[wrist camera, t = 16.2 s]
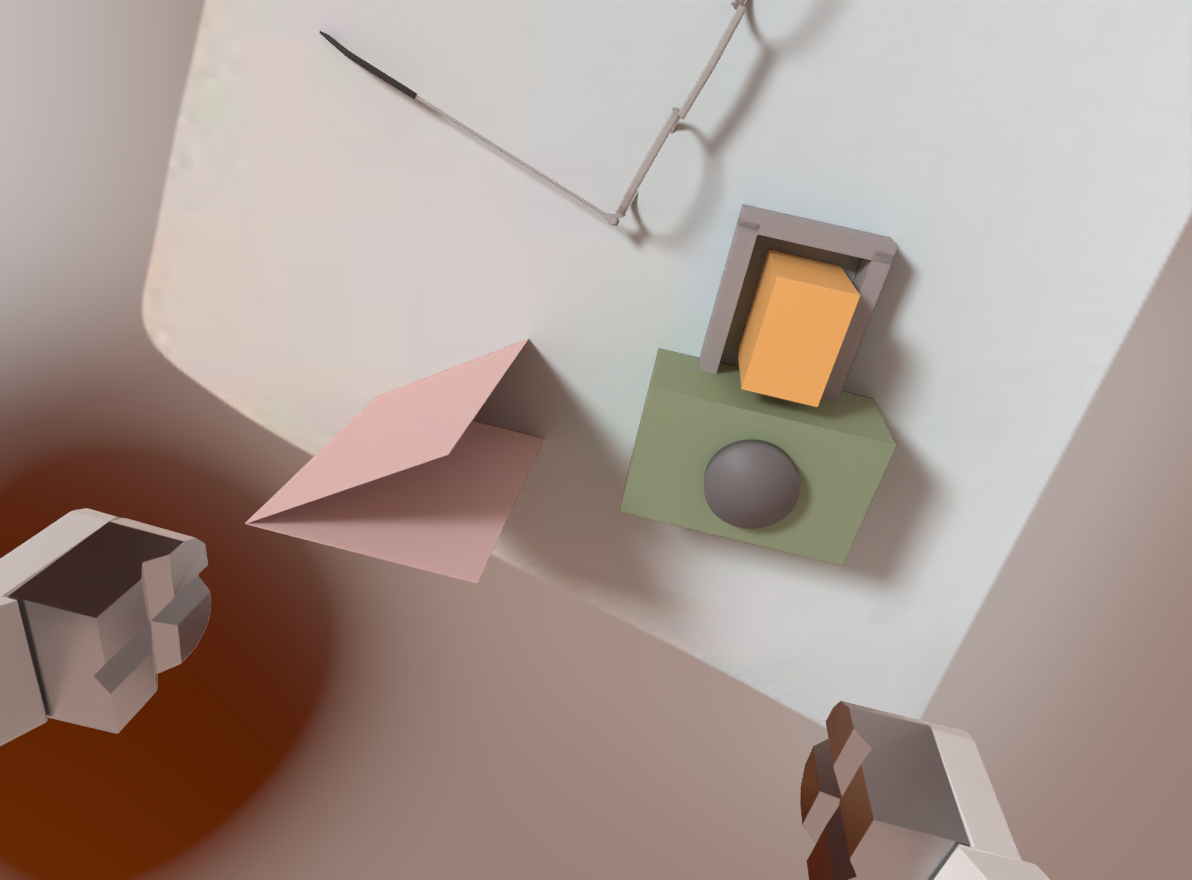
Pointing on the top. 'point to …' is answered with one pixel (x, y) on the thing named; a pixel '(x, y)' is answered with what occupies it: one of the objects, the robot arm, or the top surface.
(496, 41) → the top surface
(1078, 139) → the top surface
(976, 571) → the top surface
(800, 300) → the chute block
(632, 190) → the eyeglasses
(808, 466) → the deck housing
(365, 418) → the greeting card
